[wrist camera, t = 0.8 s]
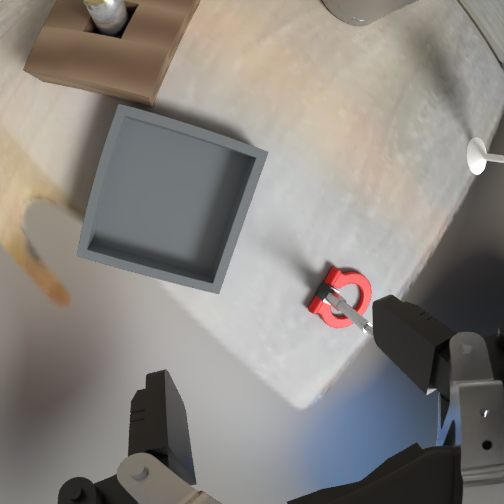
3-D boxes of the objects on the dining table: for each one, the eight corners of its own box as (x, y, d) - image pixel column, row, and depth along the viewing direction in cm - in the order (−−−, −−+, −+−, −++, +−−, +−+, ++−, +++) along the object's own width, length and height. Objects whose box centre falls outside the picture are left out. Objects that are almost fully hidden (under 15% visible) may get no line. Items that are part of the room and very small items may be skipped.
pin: (112, 23, 27) (92, -27, 16) (137, 28, 28) (126, -23, 17) (100, 46, 27) (74, 2, 16) (125, 52, 28) (108, 7, 17)
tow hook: (376, 282, 45) (333, 258, 42) (435, 322, 34) (395, 299, 30) (347, 330, 47) (301, 313, 43) (398, 379, 35) (351, 368, 31)
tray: (123, 108, 30) (118, 103, 27) (259, 152, 35) (268, 152, 32) (84, 247, 33) (76, 256, 30) (214, 282, 38) (219, 294, 35)
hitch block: (93, -19, 24) (84, -42, 18) (199, 3, 28) (205, -20, 23) (43, 81, 27) (23, 70, 21) (152, 107, 31) (148, 97, 26)
